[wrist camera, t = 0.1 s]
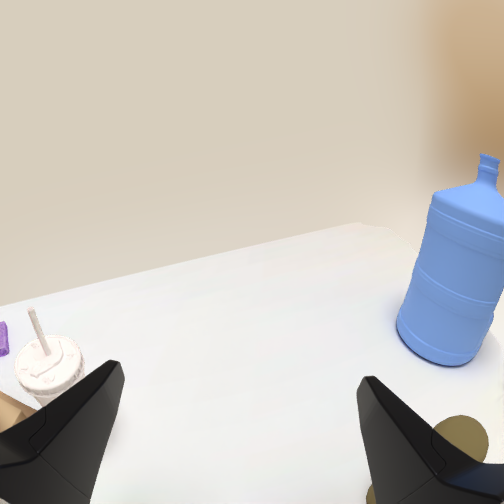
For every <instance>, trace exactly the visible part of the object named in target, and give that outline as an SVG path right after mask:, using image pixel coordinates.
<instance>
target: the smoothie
mask: <svg viewBox="0 0 504 504" xmlns="http://www.w3.org/2000/svg"><path fill="white" fill-rule="evenodd" d="M27 311H28V314H29V316H30V319H31V322H32V324H33V327H34V329H35V332H36V334H37V337H38V338H37V339H34V340H33V341H31V342H29V343H28V344H27V345H25V346H24V347H23V348H22V349H21V351H20V352H19V354H18V355H17V357H16V360H15V364H14V371H15V375H16V377H17V379H18V380H19V383H20V385H21V387H22V388H23V389H24V390H25V391H26V392H27V393H29V394H30V395H32V396H34V398H35V399H36V400H37V401H38V402H39V403H40V404H41V406H42V407H44V406H46V405H47V404H48V403H50V402H51V401H52V400H54V399H55V398H57V397H58V396H59V395H61V394H62V393H63V392H65V391H66V390H68V389H69V388H70V387H72V386H73V385H75V384H76V383H77V382H79V381H80V380H82V379H83V378H84V377H85V374H84V364H85V362H84V358H83V355H82V354H81V352H80V349H79V347H78V345H77V344H76V343H75V342H74V341H73V340H71V339H70V338H68V337H65V336H61V335H47V336H44V334H43V332H42V329H41V327H40V324H39V322H38V319H37V316H36V313H35V310H34V308H33V307H29V308H28V309H27Z"/></svg>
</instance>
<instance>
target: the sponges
mask: <svg viewBox="0 0 504 504" xmlns="http://www.w3.org/2000/svg"><path fill="white" fill-rule="evenodd" d="M7 336H8V333H7V325H6V323H5V322H4V321H3V322H0V357H2V356H5V355H7V353H9V347H8V346H9V344H8V337H7Z"/></svg>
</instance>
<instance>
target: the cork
mask: <svg viewBox="0 0 504 504" xmlns="http://www.w3.org/2000/svg"><path fill="white" fill-rule="evenodd" d="M433 429H435V430H436V431H437V432H438V433H439V434H441V435H442V436H443V437H444V438H445V439H447V440H448V441H449V442H451V443H452V444H453V445H455V446H456V447H457V448H459V449H460V450H462V451H463V452H465V453H466V454H468V455H469V456H471V457H472V458H473V459H475V460H477V461H479V462H482V463H483V461H484V459H485V457H486V454H487V450H488V446H489V443H488V436H487V433H486V431H485V429H484V428H483V426H482V425H481V424H480V423H479V422H478V421H477V420H475V419H474V418H471V417H469V416H464V415H458V416H453V417H449V418H447V419H445V420H443V421H441V422H440V423H439V424H437V425H436V426H435V427H434V428H433ZM366 502H367V504H376V501H375V495H374V490H373V485H371V486H370V488H369V489H368V493H367V496H366Z"/></svg>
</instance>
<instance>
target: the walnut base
mask: <svg viewBox="0 0 504 504" xmlns="http://www.w3.org/2000/svg"><path fill="white" fill-rule="evenodd" d="M35 412H37V410H35V409H33V408H31V407H29V406H27V405H25V404H23V403H21V402H19V401H17V400H15V399H13V398H12V397H10V396H8V395H6V394H4V393H3V392H1V391H0V432H2V431H4V430H6V429H8V428H10V427H12V426H13V425H15V424H17V423H19V422H21V421H22V420H24V419H26V418H28V417H29V416H31V415H32V414H34V413H35Z"/></svg>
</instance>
